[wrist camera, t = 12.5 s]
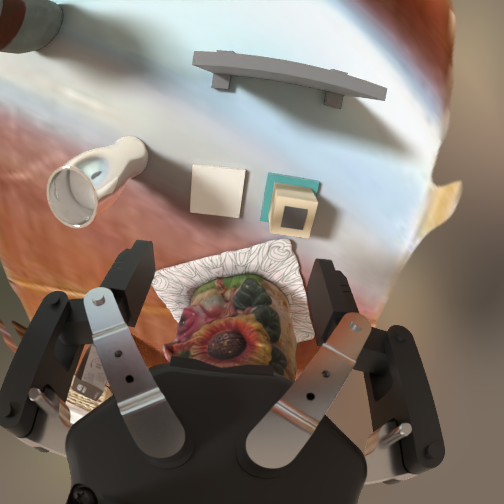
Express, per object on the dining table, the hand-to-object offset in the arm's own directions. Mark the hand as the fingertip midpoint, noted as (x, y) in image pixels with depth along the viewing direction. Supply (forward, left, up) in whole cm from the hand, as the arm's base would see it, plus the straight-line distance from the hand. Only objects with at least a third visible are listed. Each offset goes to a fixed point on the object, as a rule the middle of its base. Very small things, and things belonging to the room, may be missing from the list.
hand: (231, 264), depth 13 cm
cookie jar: (+27, +2, -25) cm, 37 cm away
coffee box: (+42, -26, -25) cm, 56 cm away
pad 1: (+6, -3, -25) cm, 26 cm away
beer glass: (+2, -16, -25) cm, 30 cm away
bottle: (-21, -34, -25) cm, 47 cm away
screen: (-10, +3, -25) cm, 27 cm away
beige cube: (+6, +7, -24) cm, 26 cm away
